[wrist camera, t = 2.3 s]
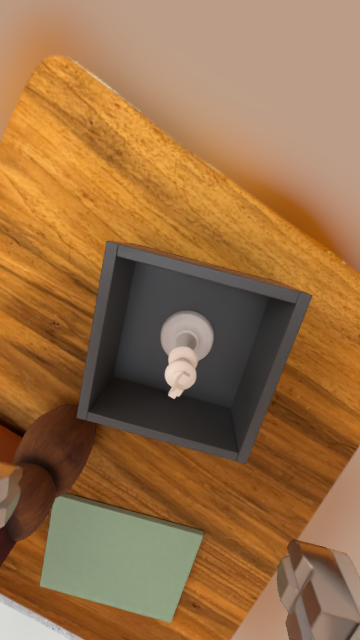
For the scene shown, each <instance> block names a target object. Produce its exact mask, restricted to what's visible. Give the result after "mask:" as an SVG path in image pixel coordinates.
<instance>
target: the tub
mask: <svg viewBox="0 0 360 640" xmlns="http://www.w3.org/2000/svg"><path fill="white" fill-rule="evenodd" d="M311 298H312V295H310V294H308V293H305V292H303V291H300V290H298V289H295V288H293V287H290V286H288V285H285V284H283V283H280V282H276V281H273V280H269V279H265V278H261V277H258V276H254V275H250V274H246V273H242V272H239V271H235V270H231V269H227V268H224V267H220V266H216V265H212V264H208V263H205V262H201V261H197V260H193V259H190V258H186V257H182V256H178V255H174V254H171V253H167V252H163V251H159V250H156V249H152V248H148V247H144V246H140V245H137V244H132V243H122V242H113V241H107V242H106V248H105V253H104V259H103V265H102V271H101V277H100V283H99V288H98V294H97V300H96V306H95V312H94V318H93V324H92V329H91V335H90V341H89V347H88V353H87V359H86V364H85V370H84V376H83V382H82V388H81V394H80V399H79V405H78V411H77V417H76V418H79V419H82V420H86V419H87V421H90V422H94V423H98V424H101V425H105V426H109V427H112V428H116V429H120V430H123V431H127V432H131V433H134V434H138V435H141V436H145V437H149V438H152V439H156V440H160V441H163V442H167V443H171V444H174V445H178V446H182V447H185V448H189V449H193V450H196V451H200V452H204V453H207V454H211V455H215V456H218V457H222V458H226V459H229V460H233V461H237V462H240V463H243V464H246V462H247V460H248V457H249V455H250V452H251V450H252V447H253V445H254V442H255V439H256V437H257V434H258V432H259V429H260V427H261V424H262V422H263V419H264V417H265V414H266V412H267V409H268V407H269V404H270V402H271V399H272V396H273V394H274V391H275V389H276V386H277V384H278V381H279V379H280V376H281V374H282V371H283V369H284V366H285V364H286V361H287V359H288V356H289V354H290V351H291V348H292V346H293V343H294V341H295V338H296V336H297V333H298V331H299V328H300V326H301V323H302V321H303V318H304V316H305V313H306V311H307V308H308V305H309V303H310V300H311ZM186 310H188V311H194V312H197V313H199V314H201V315H203V316H204V317H205V318H206V319H207V320H208V321H209V322H210V324H211V326H212V328H213V332H214V341H213V345H212V348H211V350H210V352H209V353H208V354H207V355H206V356H205V357H204V358H203V359H201V360H199V361H198V364H197V366H196V368H195V370H196V380H195V383H194V384H193V385H192V386H191V387H190V388H188V389H185V390H183V392H182V394H181V395H180V396H179V397H178V396H176V398H175V399H173V398H171V397H170V396H168V394H169V391H170V389H171V388H172V387H171V386H170V385H169V384H168V383H167V381H166V379H165V370H166V368H167V366H168V365H169V362H168V357H169V356H168V355H167V354H166V352H165V351H164V349H163V347H162V345H161V340H160V334H161V329H162V326H163V324H164V322H165V321H166V320H167V318H168V317H170V316H171V315H172V314H174V313H176V312H179V311H186Z"/></svg>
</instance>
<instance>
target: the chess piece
mask: <svg viewBox="0 0 360 640" xmlns="http://www.w3.org/2000/svg"><path fill="white" fill-rule="evenodd" d="M160 340H161V345H162V347H163V349H164V351H165V352H166V354H167V355H168V356H169V357H168V362H169V365H168V366H167V368H166V370H165V379H166V381H167V383H168V384H169V385H170V386H171V387H172V388H171V389H170V391H169V394H168V396H170V397H171V398H173V399H175V398H176V396H178V397H179V396H180V395H181V394H182V392H183V390H185V389H188V388H190V387H191V386H192V385H193V384H194V383H195V380H196V370H195V368H196V366H197V364H198V361H199V360H201V359H203V358H204V357H205V356H206V355H207V354H208V353H209V352H210V350H211V348H212V345H213V341H214V332H213V328H212V326H211V324H210V322H209V321H208V320H207V319H206V318H205V317H204V316H203V315H201V314H199V313H197V312H194V311H188V310H186V311H179V312H176V313H174V314H172V315H171V316H170V317H168V318H167V320H166V321H165V322H164V324H163V326H162V329H161V334H160Z"/></svg>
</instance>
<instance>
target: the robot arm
mask: <svg viewBox="0 0 360 640" xmlns="http://www.w3.org/2000/svg"><path fill="white" fill-rule="evenodd" d="M22 476H23V468H22V467H20V466H17V465H13V464H10V463H7V462H3V461H0V528H2V527H3V526H4V525H5V524H6V522H7V521H8V520H9V518H10V517H11V515H12V513H13V511H14V509H15V507H16V505H17V503H18V500H19V497H20V493H21V488H20V486H19V484H18V482H19V480H20V479H21V478H22ZM287 550H288V553H289V555H287V556H285V557H283V558H282V559H281V561H280V563H279V566H278V571H277V586H278V592H279V597H280V601H281V602H282V604H283V606H284V607H285V608H286V610H287V612H288V616H287V620H286V627H287V631H288V636H289V640H360V577H359V575H358V573H357V571H356V568H355V567H354V564H353V562H352V561H351V559H350V557H349V556H348V555H347V554H346V553H343V552H339V551H336V550H332V549H328V548H326V547H322V546H318V545H314V544H310V543H306V542H302V541H298V540H292V541H290V543H289V545H288V547H287Z"/></svg>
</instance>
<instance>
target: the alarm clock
mask: <svg viewBox="0 0 360 640" xmlns="http://www.w3.org/2000/svg"><path fill="white" fill-rule="evenodd" d="M21 440H22V437H20V436H19V435H17V434H15V433H14V432H12V431H10V430H9V429H7V428H5V427H4V426H2V425H0V461H3V462H7V463H10V464H13V460H14V456H15V453H16V450H17V448H18V446H19V444H20V442H21Z"/></svg>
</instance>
